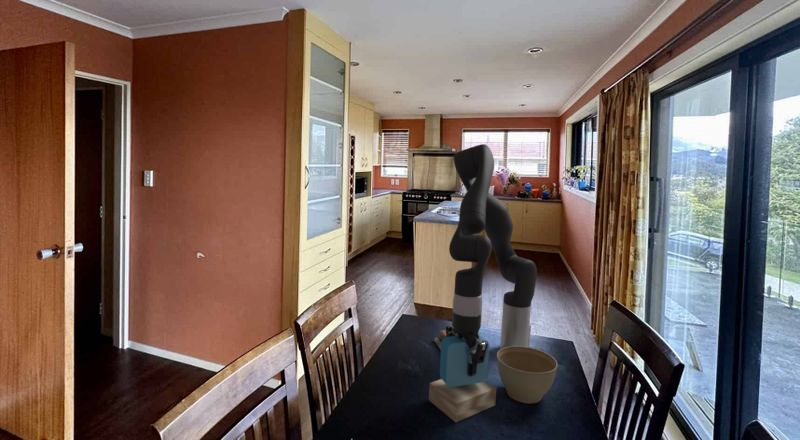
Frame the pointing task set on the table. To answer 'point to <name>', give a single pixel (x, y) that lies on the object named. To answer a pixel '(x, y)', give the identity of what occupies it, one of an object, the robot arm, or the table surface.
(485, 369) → the blue product box
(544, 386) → the planter bowl
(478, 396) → the stand
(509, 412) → the table surface
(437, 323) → the table surface
